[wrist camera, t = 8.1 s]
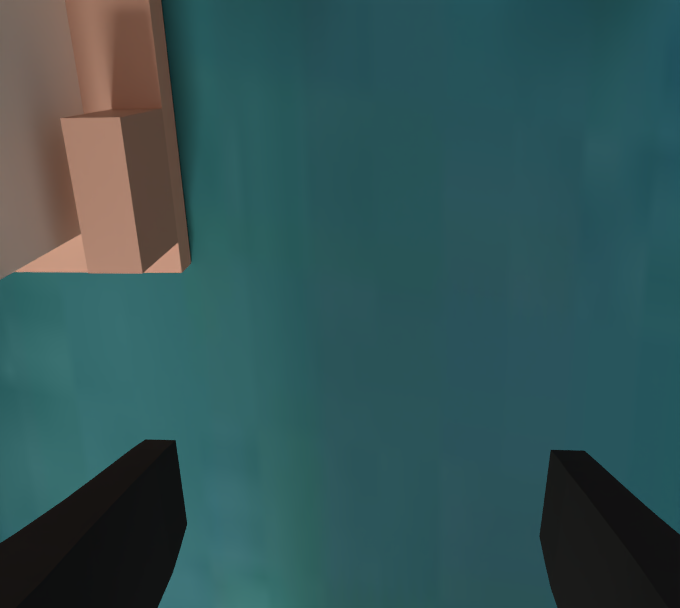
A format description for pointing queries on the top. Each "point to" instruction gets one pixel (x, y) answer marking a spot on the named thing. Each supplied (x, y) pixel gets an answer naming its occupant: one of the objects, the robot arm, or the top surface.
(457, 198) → the top surface
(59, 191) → the strip
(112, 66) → the rack
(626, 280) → the top surface
